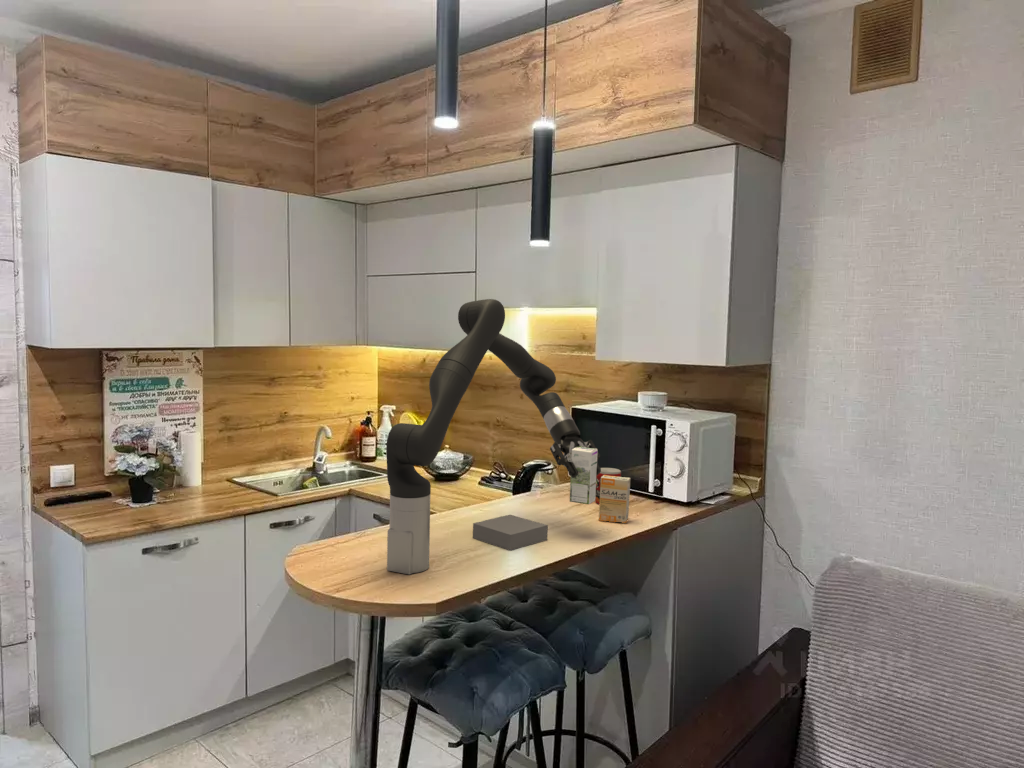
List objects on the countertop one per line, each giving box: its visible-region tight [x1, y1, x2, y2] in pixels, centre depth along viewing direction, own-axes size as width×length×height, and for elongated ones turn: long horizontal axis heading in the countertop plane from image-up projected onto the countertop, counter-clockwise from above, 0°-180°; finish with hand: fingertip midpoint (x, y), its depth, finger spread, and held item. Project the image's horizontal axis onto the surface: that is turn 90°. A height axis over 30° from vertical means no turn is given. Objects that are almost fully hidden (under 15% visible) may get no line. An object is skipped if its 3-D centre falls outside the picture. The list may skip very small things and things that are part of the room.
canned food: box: [594, 467, 622, 505], centre depth 232 cm, size 8×8×11 cm
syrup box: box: [569, 447, 599, 505], centre depth 192 cm, size 6×6×14 cm
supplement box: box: [598, 475, 631, 524], centre depth 210 cm, size 8×5×13 cm, turn 71°
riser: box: [472, 514, 549, 551], centre depth 189 cm, size 14×14×4 cm
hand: (587, 474), depth 191 cm, fingers closed on syrup box, 7 cm apart
